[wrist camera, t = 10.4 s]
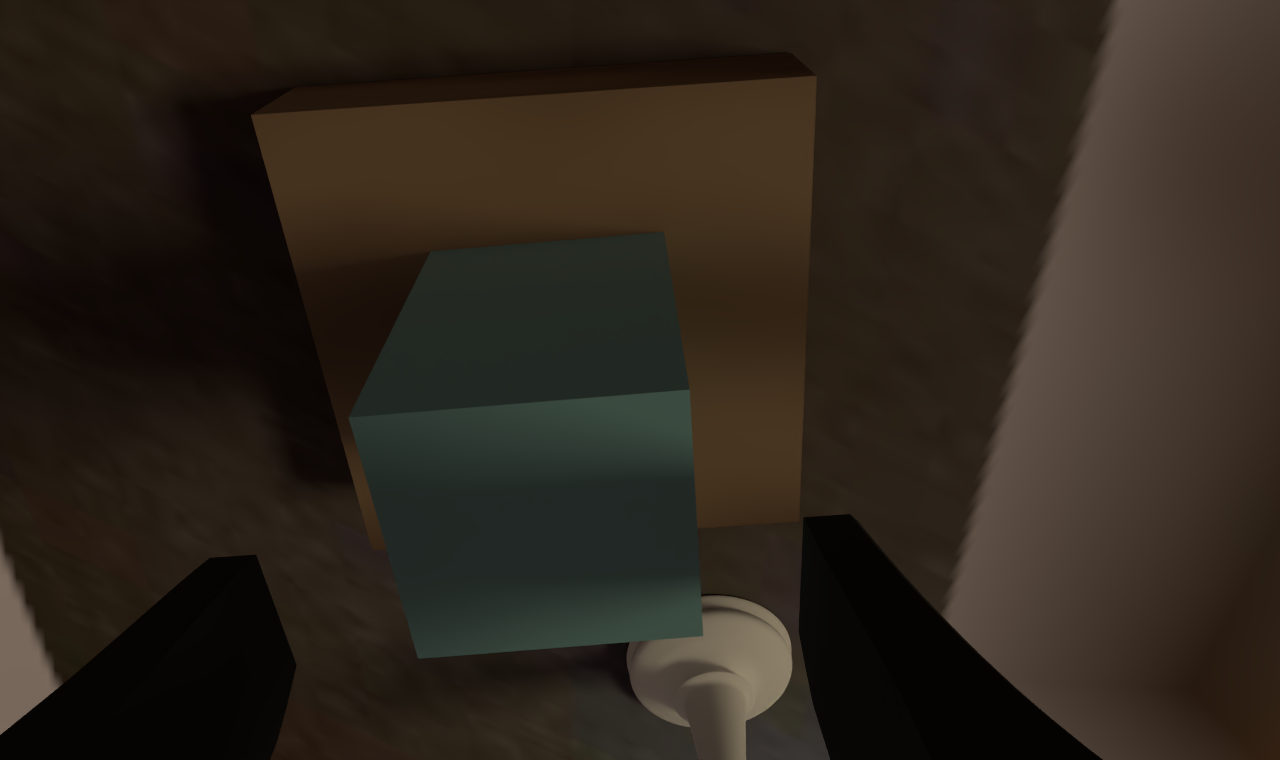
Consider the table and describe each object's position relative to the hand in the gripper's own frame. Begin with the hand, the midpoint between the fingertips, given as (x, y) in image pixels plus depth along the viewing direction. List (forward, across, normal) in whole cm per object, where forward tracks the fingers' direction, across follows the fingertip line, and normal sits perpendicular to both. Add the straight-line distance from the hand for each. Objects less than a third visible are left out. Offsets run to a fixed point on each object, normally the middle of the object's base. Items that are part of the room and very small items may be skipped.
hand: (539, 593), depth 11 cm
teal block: (+7, 0, 0) cm, 7 cm away
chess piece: (+10, -3, +12) cm, 16 cm away
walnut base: (+10, 0, 0) cm, 10 cm away
